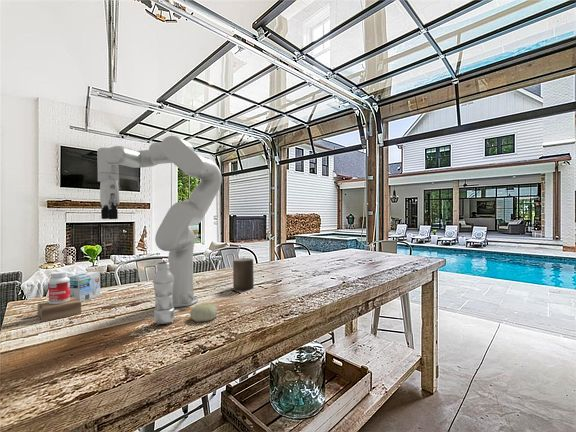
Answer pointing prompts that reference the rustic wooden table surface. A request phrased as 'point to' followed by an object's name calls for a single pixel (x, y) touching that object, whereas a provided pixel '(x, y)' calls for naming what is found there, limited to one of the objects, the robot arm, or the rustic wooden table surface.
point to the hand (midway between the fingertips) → (109, 219)
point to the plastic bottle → (163, 294)
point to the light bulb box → (85, 285)
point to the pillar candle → (243, 274)
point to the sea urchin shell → (203, 312)
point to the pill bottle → (59, 288)
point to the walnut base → (58, 309)
